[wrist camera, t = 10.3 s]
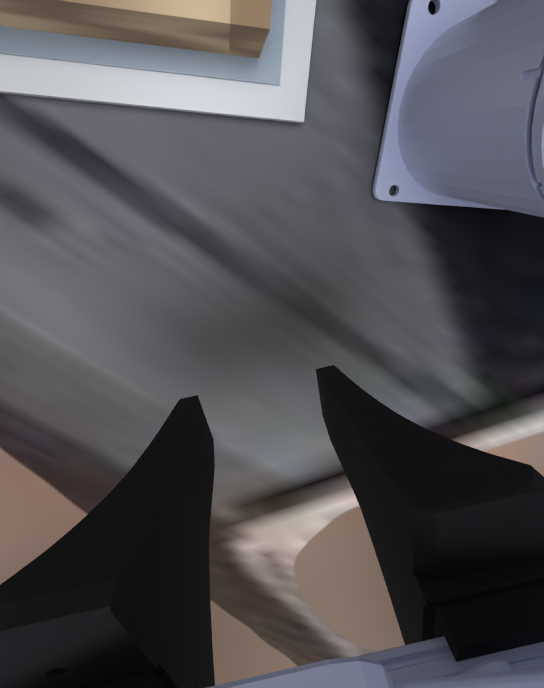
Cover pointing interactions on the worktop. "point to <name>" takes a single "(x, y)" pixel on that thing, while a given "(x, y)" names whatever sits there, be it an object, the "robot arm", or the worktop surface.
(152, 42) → the wood collar
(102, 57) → the post stand
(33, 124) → the worktop surface
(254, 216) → the worktop surface
